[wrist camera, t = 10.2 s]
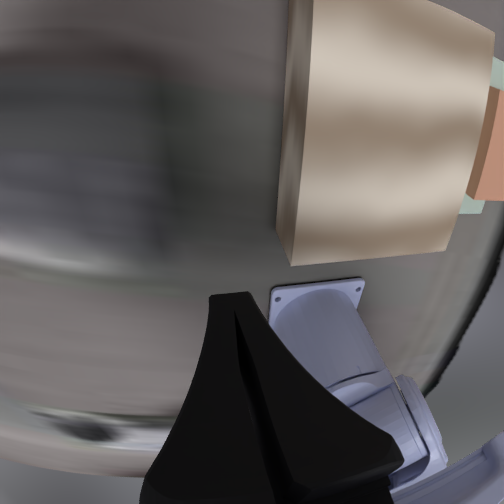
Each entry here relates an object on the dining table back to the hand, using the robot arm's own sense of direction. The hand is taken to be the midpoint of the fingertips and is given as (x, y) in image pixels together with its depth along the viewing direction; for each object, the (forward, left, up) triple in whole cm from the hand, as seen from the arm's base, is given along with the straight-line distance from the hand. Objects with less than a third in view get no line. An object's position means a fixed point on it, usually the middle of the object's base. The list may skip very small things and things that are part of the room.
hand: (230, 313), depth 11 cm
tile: (+5, -22, -8) cm, 24 cm away
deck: (+5, -10, -10) cm, 15 cm away
